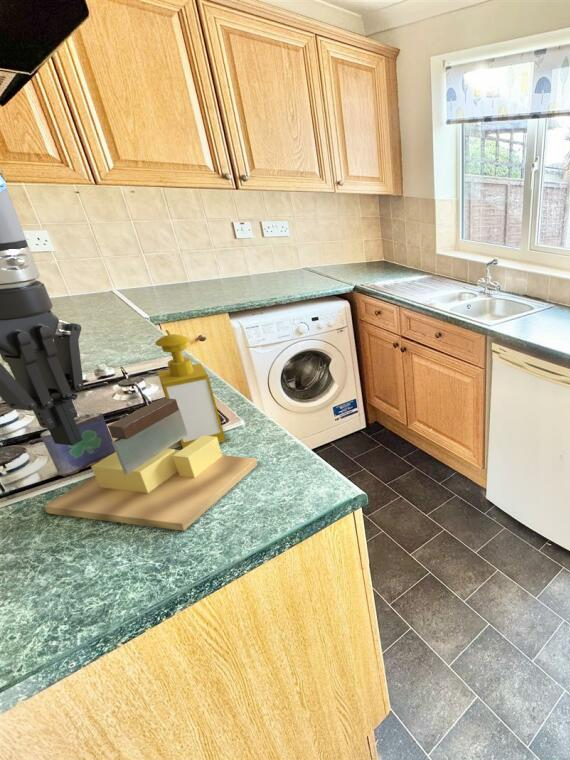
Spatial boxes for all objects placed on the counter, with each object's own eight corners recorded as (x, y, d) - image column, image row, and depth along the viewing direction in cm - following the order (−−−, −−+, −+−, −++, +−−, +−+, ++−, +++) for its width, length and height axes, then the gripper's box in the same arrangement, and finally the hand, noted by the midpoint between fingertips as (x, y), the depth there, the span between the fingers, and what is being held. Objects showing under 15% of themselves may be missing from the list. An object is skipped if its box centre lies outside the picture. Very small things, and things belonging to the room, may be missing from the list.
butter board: (47, 513, 69) (43, 506, 68) (145, 452, 85) (143, 445, 84) (184, 531, 67) (181, 523, 66) (257, 465, 83) (256, 458, 83)
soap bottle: (212, 417, 98) (185, 320, 88) (225, 441, 90) (197, 336, 80) (174, 427, 94) (141, 326, 84) (184, 452, 85) (149, 343, 75)
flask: (65, 478, 76) (41, 427, 72) (54, 474, 77) (29, 424, 73) (120, 451, 85) (102, 404, 80) (110, 448, 85) (90, 402, 81)
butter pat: (179, 476, 77) (172, 455, 75) (208, 454, 83) (202, 435, 81) (194, 477, 76) (188, 457, 74) (222, 456, 83) (217, 436, 81)
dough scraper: (118, 473, 67) (100, 429, 64) (180, 434, 78) (167, 395, 75) (133, 474, 67) (115, 431, 64) (192, 435, 78) (180, 396, 74)
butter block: (100, 487, 73) (90, 466, 71) (137, 463, 79) (129, 443, 77) (148, 493, 72) (139, 472, 70) (181, 469, 78) (174, 449, 76)
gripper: (-41, 298, 46) (44, 471, 56) (81, 276, 58) (133, 422, 68) (-104, 291, 46) (-8, 464, 56) (30, 270, 58) (89, 417, 68)
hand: (69, 441), depth 62 cm, fingers closed
